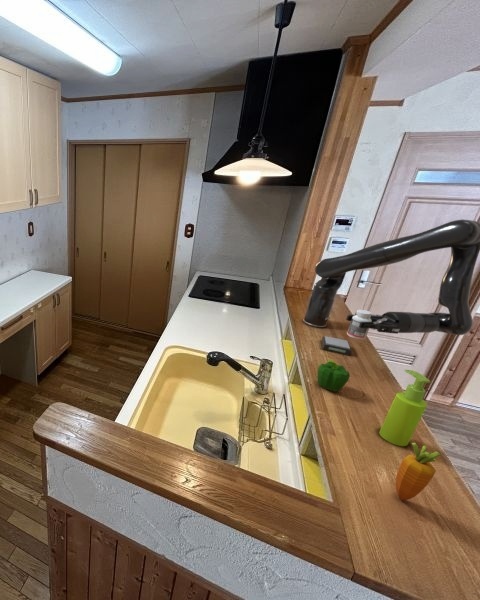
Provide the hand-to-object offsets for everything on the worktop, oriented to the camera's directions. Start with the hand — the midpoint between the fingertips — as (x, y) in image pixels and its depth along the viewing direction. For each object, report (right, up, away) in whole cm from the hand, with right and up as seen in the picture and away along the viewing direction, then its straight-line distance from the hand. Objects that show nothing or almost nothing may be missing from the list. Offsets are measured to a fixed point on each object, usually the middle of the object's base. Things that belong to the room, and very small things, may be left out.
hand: (354, 321), depth 115 cm
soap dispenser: (-11, -31, -25) cm, 41 cm away
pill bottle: (+2, -6, +2) cm, 7 cm away
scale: (+10, -13, +22) cm, 27 cm away
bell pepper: (-13, -23, -4) cm, 26 cm away
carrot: (-26, -37, -43) cm, 63 cm away
